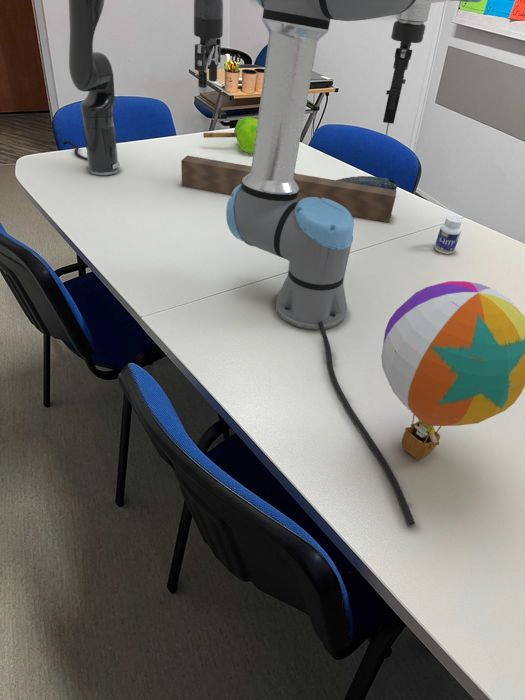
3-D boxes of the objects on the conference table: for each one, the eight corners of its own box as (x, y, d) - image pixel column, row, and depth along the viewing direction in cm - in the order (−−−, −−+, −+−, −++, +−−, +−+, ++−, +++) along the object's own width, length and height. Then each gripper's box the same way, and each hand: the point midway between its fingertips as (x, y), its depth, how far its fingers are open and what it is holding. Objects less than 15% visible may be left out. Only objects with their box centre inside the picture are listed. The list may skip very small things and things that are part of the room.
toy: (330, 441, 84) (367, 281, 65) (404, 391, 94) (454, 241, 75) (431, 526, 73) (512, 363, 54) (502, 459, 83) (589, 303, 64)
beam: (390, 216, 155) (396, 190, 150) (389, 222, 151) (395, 196, 146) (187, 180, 165) (187, 155, 160) (181, 186, 161) (181, 160, 156)
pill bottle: (433, 251, 139) (442, 220, 133) (435, 243, 143) (444, 213, 137) (453, 256, 138) (464, 225, 132) (454, 247, 142) (465, 217, 136)
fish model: (395, 199, 165) (399, 183, 162) (329, 192, 166) (332, 176, 163) (393, 191, 171) (397, 176, 168) (330, 185, 172) (332, 169, 169)
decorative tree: (200, 113, 191) (280, 113, 196) (201, 142, 197) (278, 141, 203) (205, 127, 177) (291, 126, 183) (206, 158, 184) (288, 156, 189)
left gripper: (204, 11, 140) (203, 77, 150) (184, 16, 129) (185, 87, 139) (230, 14, 139) (228, 81, 149) (213, 19, 128) (212, 91, 138)
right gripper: (397, 15, 134) (379, 103, 147) (391, 25, 115) (371, 126, 128) (426, 18, 133) (406, 107, 146) (425, 29, 114) (402, 130, 127)
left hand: (207, 84), depth 144 cm, fingers open, 8 cm apart
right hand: (390, 116), depth 137 cm, fingers open, 13 cm apart
